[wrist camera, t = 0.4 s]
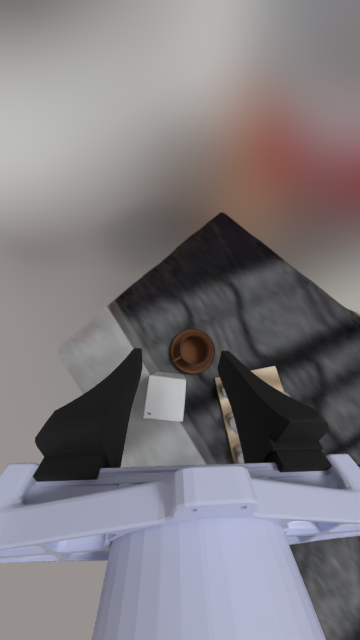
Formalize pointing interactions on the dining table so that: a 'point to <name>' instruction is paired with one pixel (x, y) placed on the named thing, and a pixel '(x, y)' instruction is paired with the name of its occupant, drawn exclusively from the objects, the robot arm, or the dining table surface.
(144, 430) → the dining table surface
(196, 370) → the cup and saucer
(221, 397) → the board
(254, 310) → the dining table surface
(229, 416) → the spacers
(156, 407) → the supplement box
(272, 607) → the robot arm
